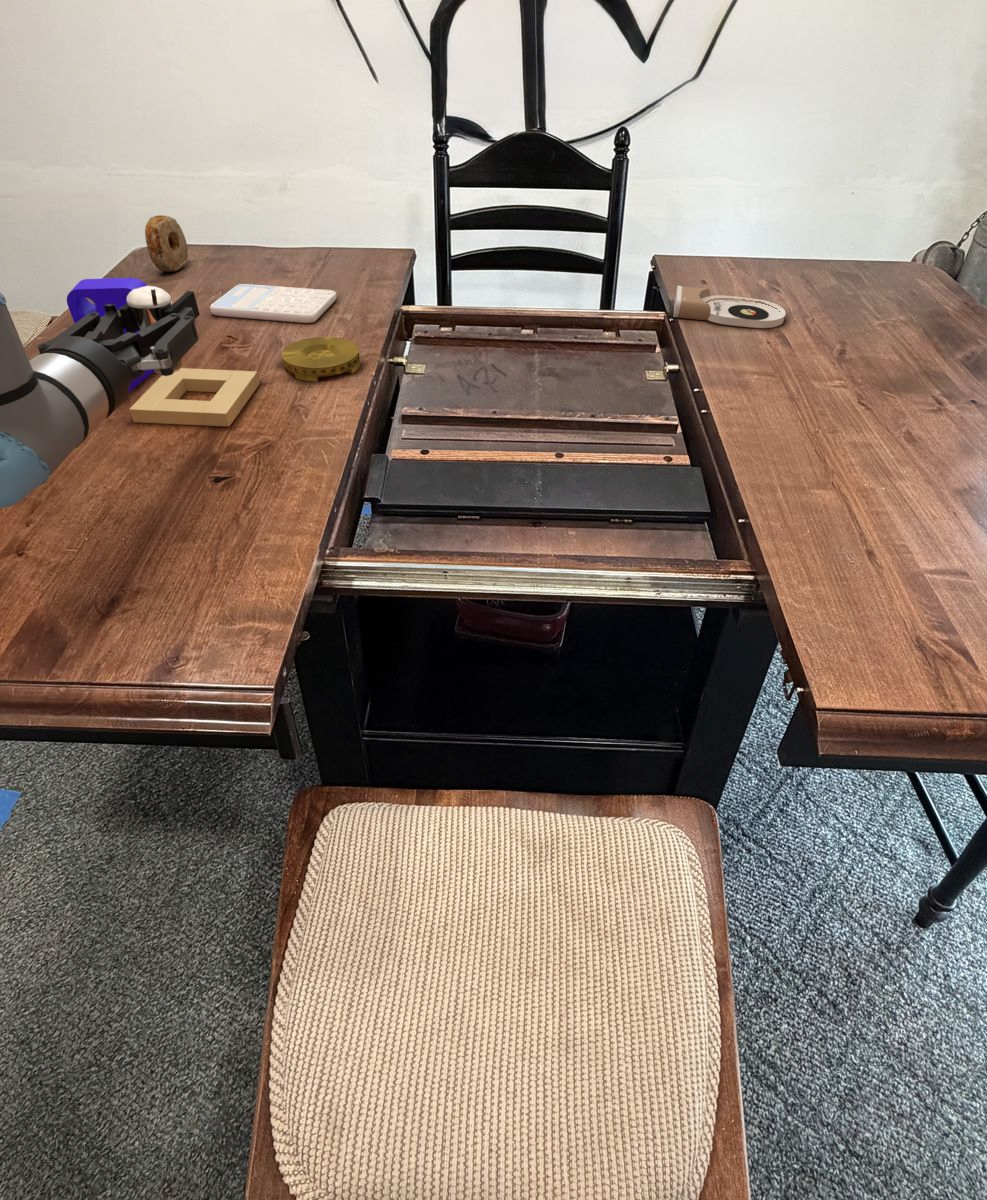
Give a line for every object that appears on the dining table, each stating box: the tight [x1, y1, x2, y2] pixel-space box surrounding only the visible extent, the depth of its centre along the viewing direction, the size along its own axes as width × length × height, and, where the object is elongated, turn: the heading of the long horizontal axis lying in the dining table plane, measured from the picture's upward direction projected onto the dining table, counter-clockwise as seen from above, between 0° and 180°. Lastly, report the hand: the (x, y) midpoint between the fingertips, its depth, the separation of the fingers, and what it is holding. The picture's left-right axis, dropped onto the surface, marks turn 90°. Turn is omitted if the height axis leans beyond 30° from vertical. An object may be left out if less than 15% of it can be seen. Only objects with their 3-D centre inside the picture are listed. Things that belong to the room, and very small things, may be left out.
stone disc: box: [144, 214, 189, 273], centre depth 144 cm, size 10×4×10 cm, turn 169°
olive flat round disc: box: [281, 336, 361, 382], centre depth 113 cm, size 12×12×2 cm
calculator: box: [209, 283, 338, 324], centre depth 132 cm, size 13×20×2 cm, turn 80°
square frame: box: [128, 367, 261, 428], centre depth 103 cm, size 14×14×2 cm
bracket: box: [66, 277, 155, 394], centre depth 105 cm, size 18×11×12 cm, turn 7°
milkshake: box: [127, 285, 183, 374], centre depth 81 cm, size 4×5×10 cm
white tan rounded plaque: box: [673, 285, 787, 329], centre depth 132 cm, size 12×3×20 cm
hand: (172, 302), depth 84 cm, fingers closed on milkshake, 4 cm apart
